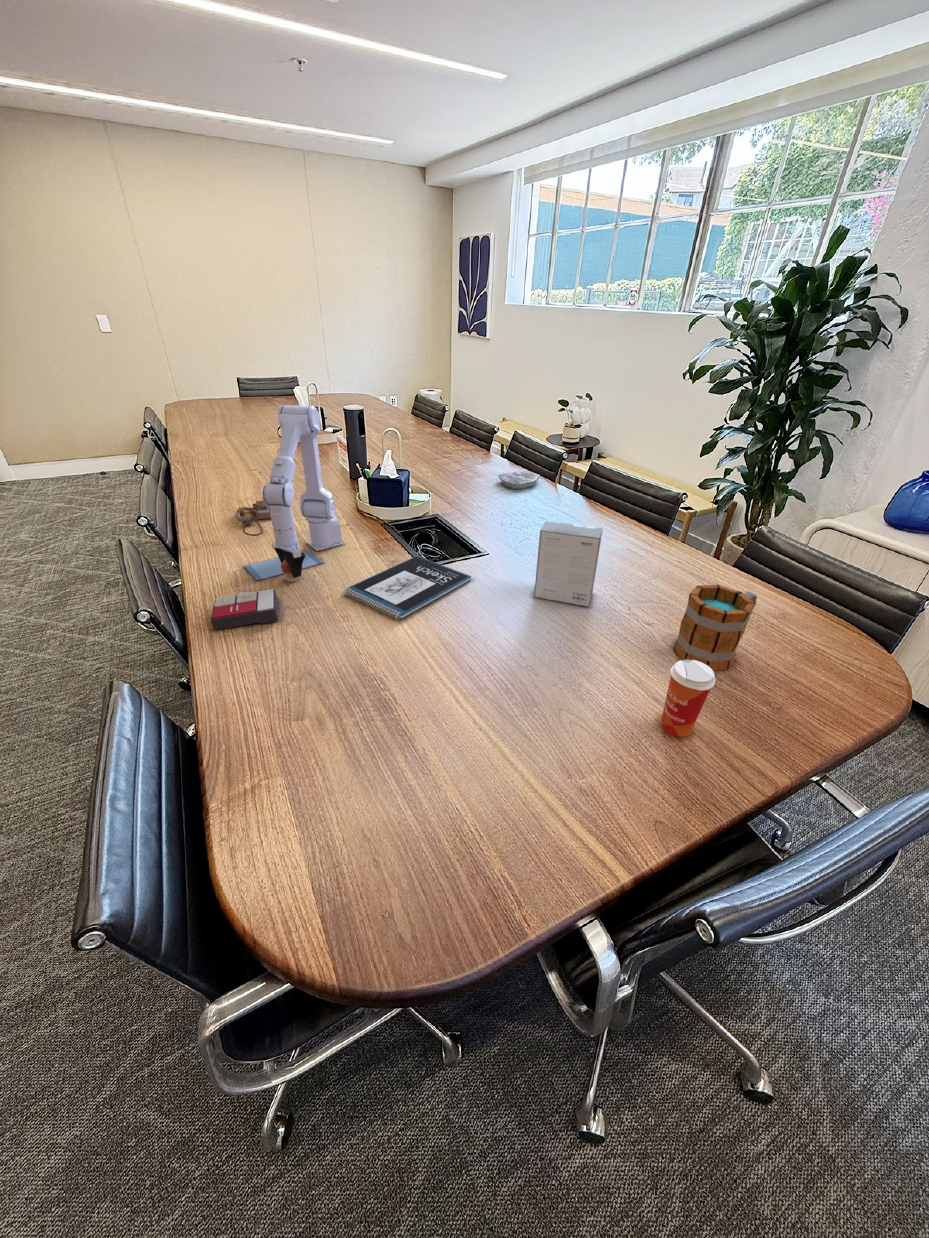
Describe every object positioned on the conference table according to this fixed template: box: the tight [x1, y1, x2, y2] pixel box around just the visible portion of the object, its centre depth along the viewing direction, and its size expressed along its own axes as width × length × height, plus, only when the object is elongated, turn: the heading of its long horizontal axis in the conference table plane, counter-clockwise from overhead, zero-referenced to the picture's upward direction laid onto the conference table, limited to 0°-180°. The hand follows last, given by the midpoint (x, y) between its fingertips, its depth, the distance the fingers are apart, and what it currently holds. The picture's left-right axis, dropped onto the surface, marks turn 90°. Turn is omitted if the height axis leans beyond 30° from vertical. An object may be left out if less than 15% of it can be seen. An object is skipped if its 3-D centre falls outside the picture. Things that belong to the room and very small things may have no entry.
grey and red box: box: [210, 588, 279, 631], centre depth 130 cm, size 11×4×15 cm
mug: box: [672, 584, 758, 671], centre depth 118 cm, size 20×14×15 cm
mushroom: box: [281, 560, 300, 583], centre depth 146 cm, size 5×5×7 cm
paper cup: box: [660, 659, 716, 738], centre depth 96 cm, size 8×8×14 cm
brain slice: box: [497, 470, 541, 490], centre depth 227 cm, size 20×17×3 cm
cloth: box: [244, 549, 323, 582], centre depth 155 cm, size 20×11×1 cm, turn 127°
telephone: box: [235, 500, 271, 537], centre depth 183 cm, size 15×33×4 cm, turn 23°
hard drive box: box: [533, 520, 604, 607], centre depth 137 cm, size 16×8×20 cm, turn 71°
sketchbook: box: [343, 555, 472, 621], centre depth 144 cm, size 22×30×2 cm
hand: (292, 571), depth 147 cm, fingers open, 7 cm apart
